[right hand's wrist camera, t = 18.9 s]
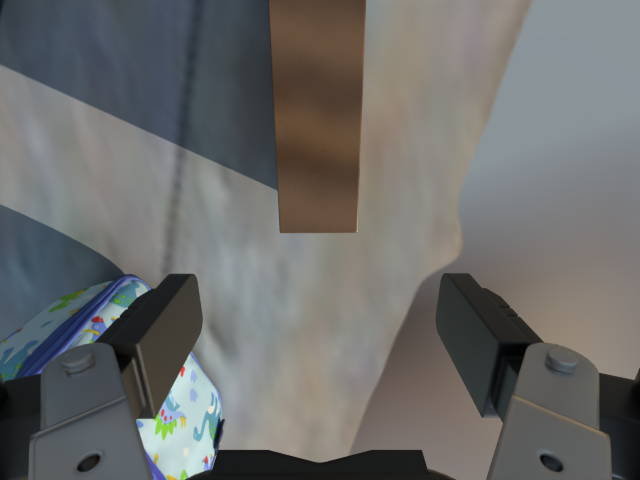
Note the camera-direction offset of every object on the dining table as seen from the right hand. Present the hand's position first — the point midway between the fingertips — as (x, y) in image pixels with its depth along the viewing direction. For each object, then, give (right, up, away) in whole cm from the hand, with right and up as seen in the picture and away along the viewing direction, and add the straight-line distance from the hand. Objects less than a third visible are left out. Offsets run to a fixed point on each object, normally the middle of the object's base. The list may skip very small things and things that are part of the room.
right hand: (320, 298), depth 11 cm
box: (0, +16, +22) cm, 28 cm away
